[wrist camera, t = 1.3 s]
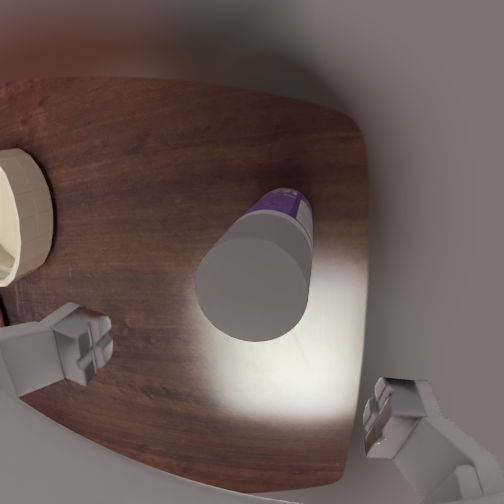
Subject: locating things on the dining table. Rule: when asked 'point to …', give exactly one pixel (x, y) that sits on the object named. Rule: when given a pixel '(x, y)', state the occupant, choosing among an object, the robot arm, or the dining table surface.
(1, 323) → the planter
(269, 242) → the container
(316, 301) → the dining table surface
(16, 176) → the bowl
